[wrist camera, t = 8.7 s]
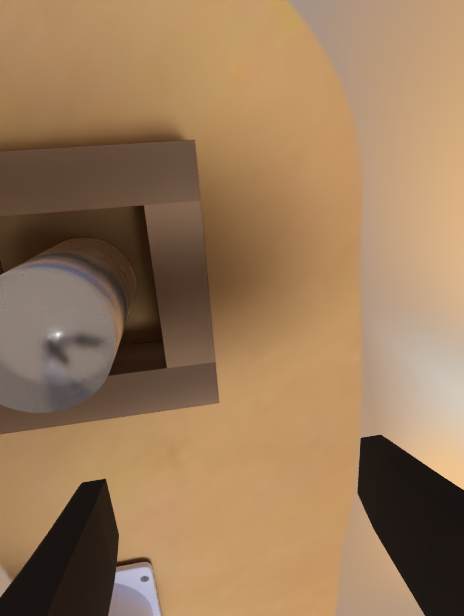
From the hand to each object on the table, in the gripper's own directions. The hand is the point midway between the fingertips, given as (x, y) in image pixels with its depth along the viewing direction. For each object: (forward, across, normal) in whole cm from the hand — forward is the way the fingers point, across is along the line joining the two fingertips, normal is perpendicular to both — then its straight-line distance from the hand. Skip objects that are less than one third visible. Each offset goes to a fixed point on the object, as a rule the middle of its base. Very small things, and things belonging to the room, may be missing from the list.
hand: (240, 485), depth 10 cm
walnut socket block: (+9, +6, -4) cm, 12 cm away
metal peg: (+9, +5, -4) cm, 12 cm away
